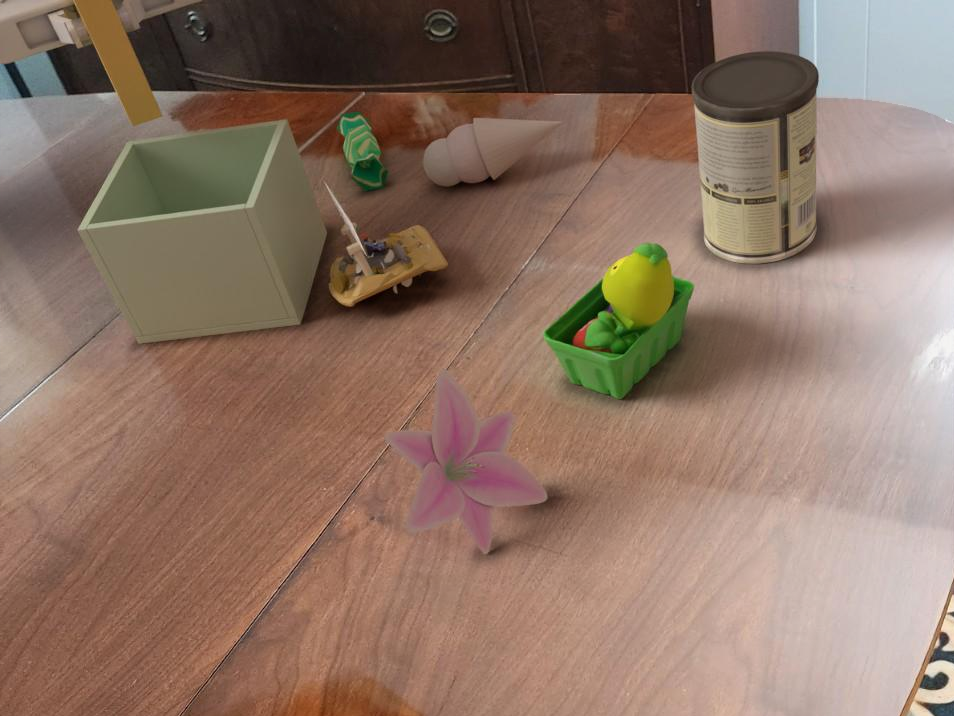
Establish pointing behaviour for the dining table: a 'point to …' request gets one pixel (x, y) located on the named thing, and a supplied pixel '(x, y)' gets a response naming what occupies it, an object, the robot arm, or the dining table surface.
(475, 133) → the ice cream cone
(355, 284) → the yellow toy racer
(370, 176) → the candy
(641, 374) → the fruit basket
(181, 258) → the waste bin
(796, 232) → the coffee can
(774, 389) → the dining table surface
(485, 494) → the lily
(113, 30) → the orange rectangular block
